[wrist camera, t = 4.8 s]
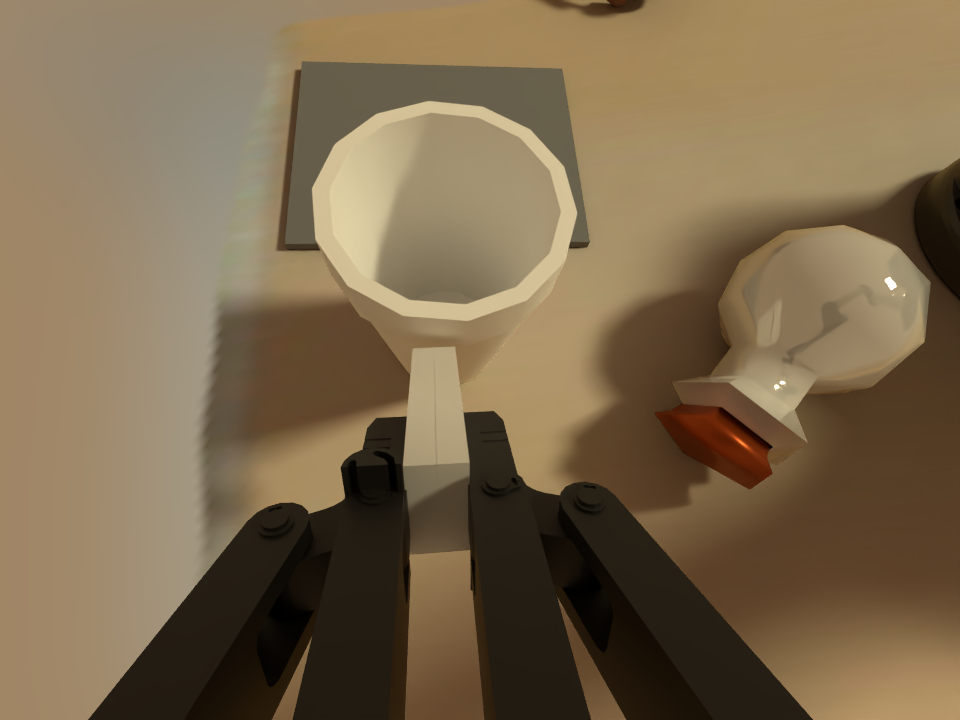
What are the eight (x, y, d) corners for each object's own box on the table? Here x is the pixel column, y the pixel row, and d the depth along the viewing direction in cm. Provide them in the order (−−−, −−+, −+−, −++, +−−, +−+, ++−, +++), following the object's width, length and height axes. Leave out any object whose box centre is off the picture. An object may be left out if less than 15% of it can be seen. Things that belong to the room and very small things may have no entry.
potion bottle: (799, 307, 33) (678, 468, 30) (751, 196, 29) (605, 372, 26) (979, 319, 25) (837, 541, 22) (949, 167, 21) (767, 418, 18)
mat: (587, 246, 32) (589, 241, 31) (287, 249, 30) (284, 243, 29) (560, 75, 37) (562, 68, 36) (304, 68, 35) (302, 61, 35)
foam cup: (397, 435, 26) (358, 359, 14) (348, 300, 29) (279, 137, 17) (544, 377, 28) (621, 267, 16) (486, 255, 31) (513, 79, 19)
